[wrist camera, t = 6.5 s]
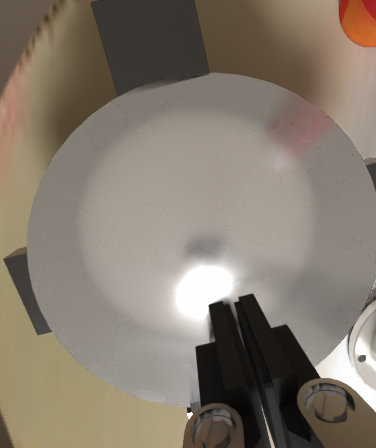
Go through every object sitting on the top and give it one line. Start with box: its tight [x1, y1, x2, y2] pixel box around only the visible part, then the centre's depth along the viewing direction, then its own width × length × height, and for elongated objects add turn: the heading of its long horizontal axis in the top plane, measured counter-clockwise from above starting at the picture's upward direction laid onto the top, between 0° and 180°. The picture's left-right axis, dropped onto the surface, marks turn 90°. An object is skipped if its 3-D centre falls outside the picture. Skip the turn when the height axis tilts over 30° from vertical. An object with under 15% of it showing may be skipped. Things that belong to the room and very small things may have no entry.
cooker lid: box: [27, 0, 376, 414], centre depth 15 cm, size 18×21×3 cm
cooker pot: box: [3, 158, 376, 419], centre depth 21 cm, size 22×19×10 cm
